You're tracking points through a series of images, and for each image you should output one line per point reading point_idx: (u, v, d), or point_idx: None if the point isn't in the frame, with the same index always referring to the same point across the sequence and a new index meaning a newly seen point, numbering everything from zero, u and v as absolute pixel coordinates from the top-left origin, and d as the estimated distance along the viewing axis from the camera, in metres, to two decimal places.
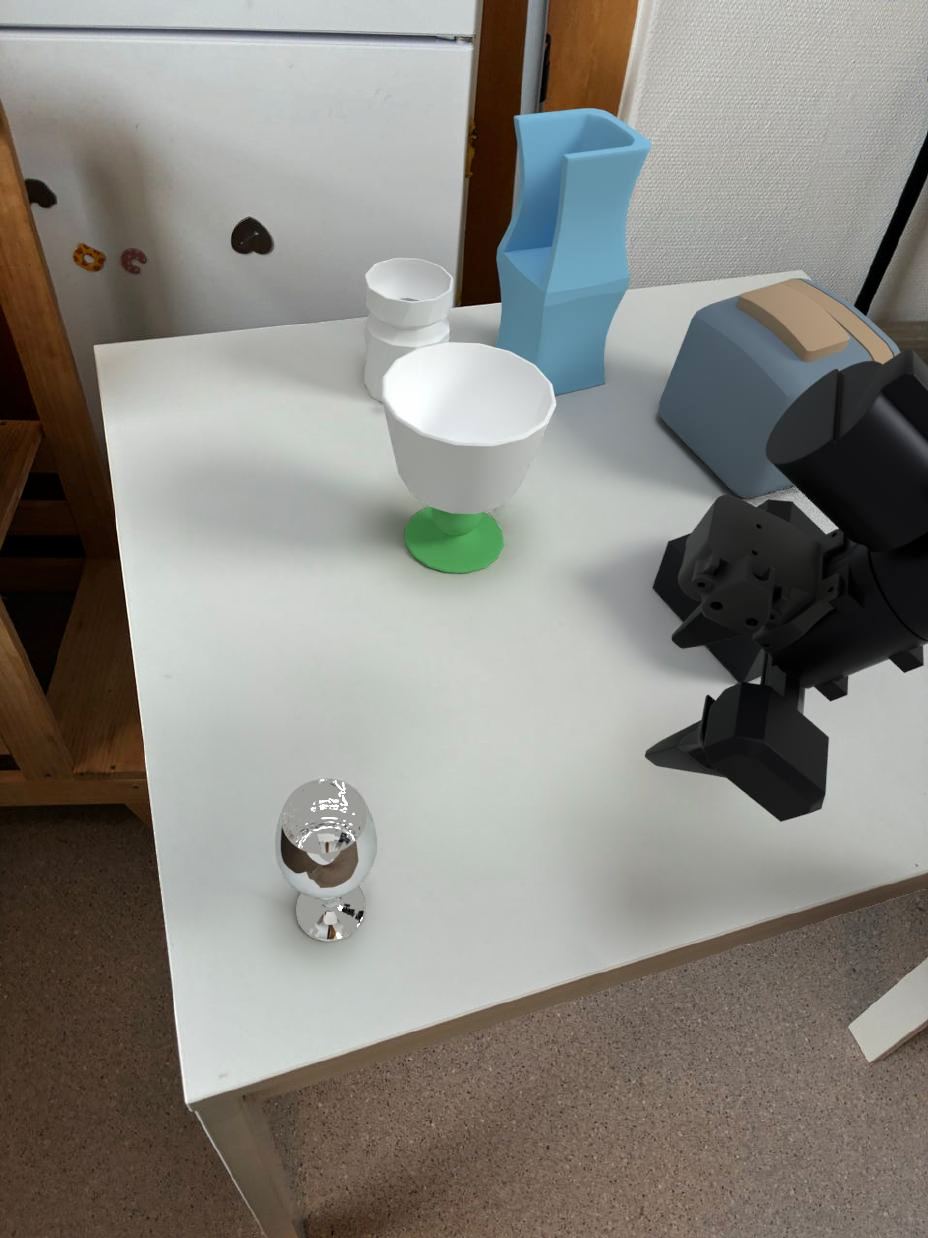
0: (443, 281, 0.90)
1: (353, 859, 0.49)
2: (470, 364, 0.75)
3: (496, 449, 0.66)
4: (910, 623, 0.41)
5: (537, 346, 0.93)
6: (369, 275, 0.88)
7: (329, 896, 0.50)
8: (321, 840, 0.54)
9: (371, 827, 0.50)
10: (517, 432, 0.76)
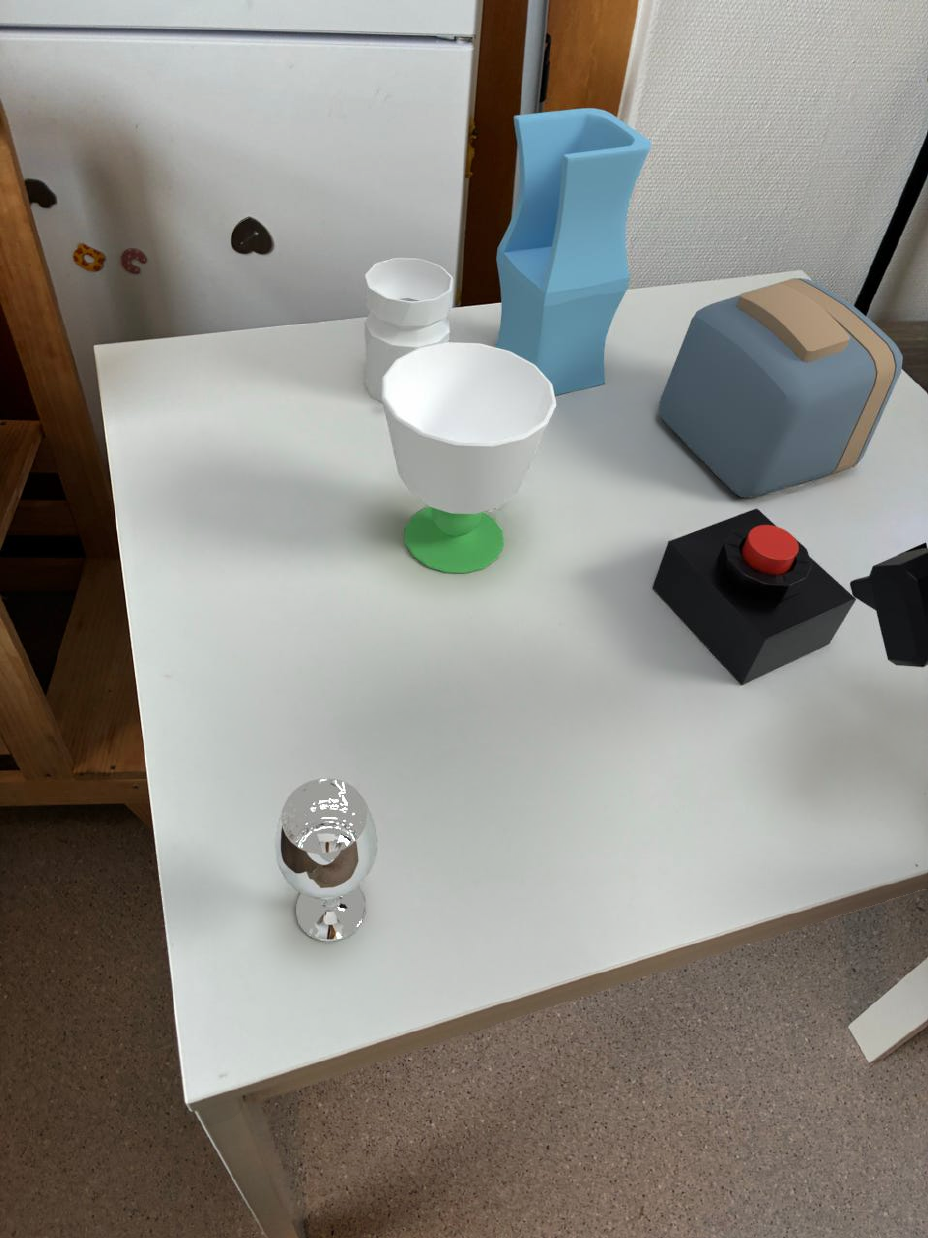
0: (443, 281, 0.90)
1: (353, 859, 0.49)
2: (470, 364, 0.75)
3: (496, 449, 0.66)
4: None
5: (537, 346, 0.93)
6: (369, 275, 0.88)
7: (329, 896, 0.50)
8: (321, 840, 0.54)
9: (371, 827, 0.50)
10: (517, 432, 0.76)
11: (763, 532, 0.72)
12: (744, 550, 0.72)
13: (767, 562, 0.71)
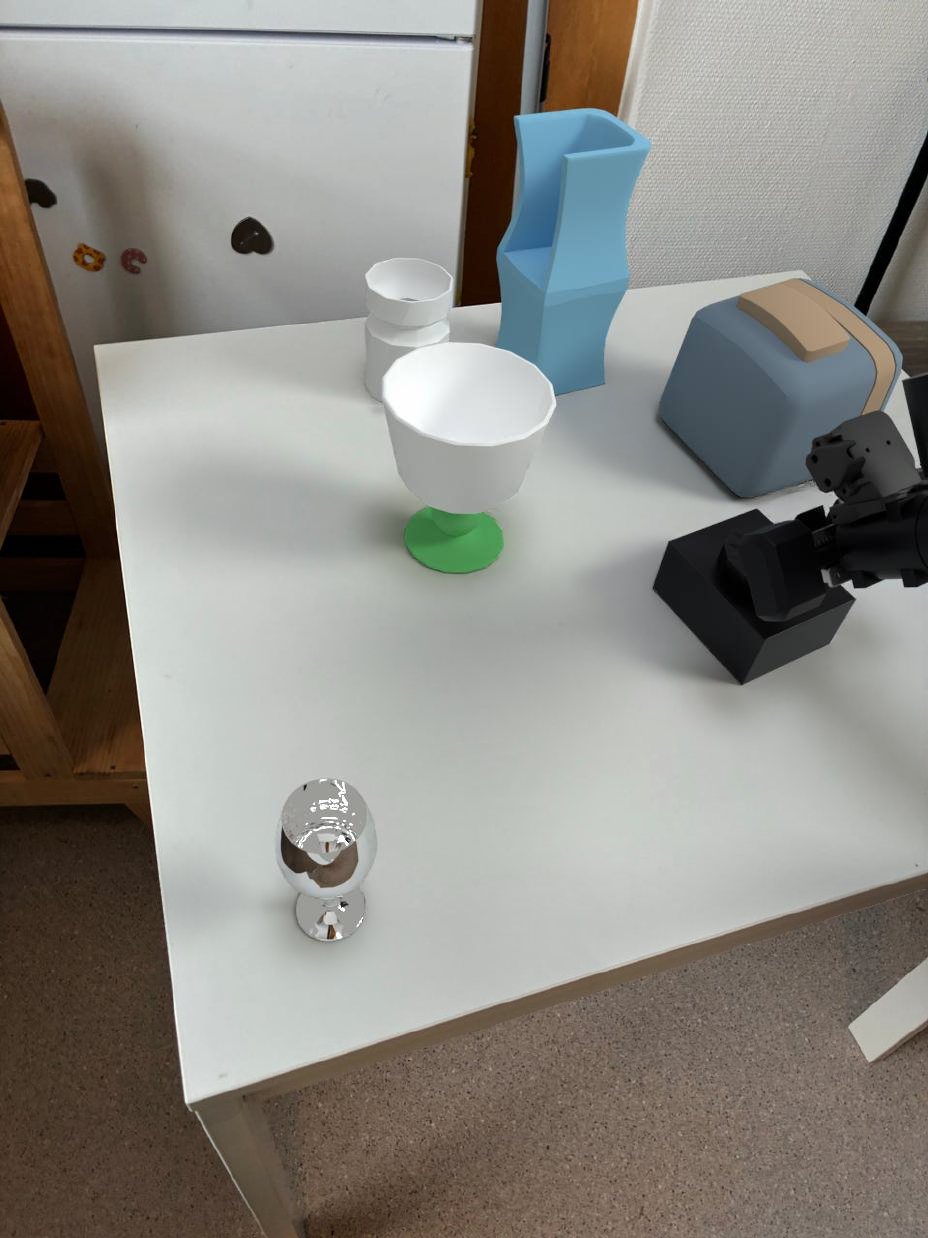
0: (443, 281, 0.90)
1: (353, 859, 0.49)
2: (470, 364, 0.75)
3: (496, 449, 0.66)
4: (920, 543, 0.56)
5: (537, 346, 0.93)
6: (369, 275, 0.88)
7: (329, 896, 0.50)
8: (321, 840, 0.54)
9: (371, 827, 0.50)
10: (517, 432, 0.76)
11: None
12: None
13: None
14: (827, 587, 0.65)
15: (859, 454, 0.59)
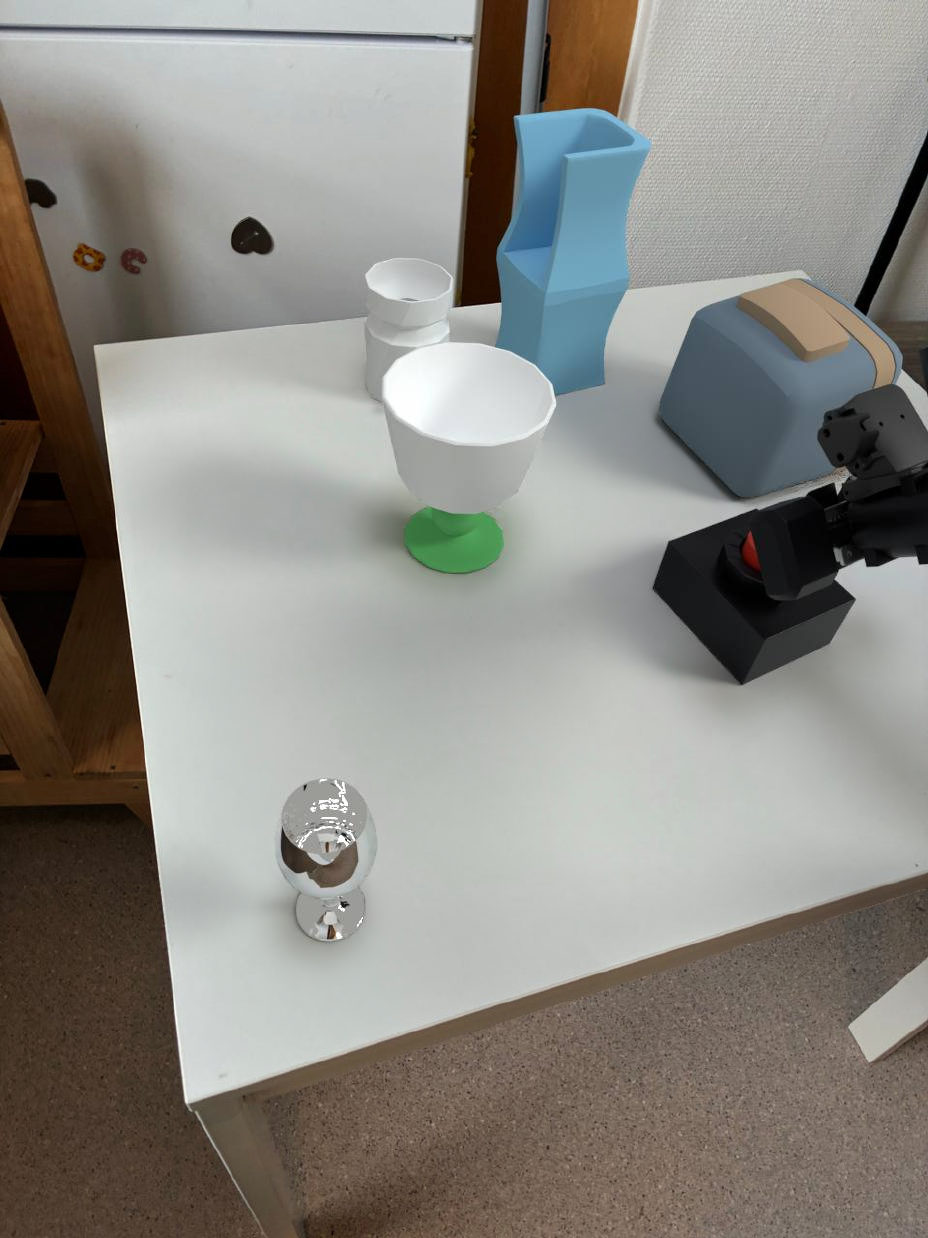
0: (443, 281, 0.90)
1: (353, 859, 0.49)
2: (470, 364, 0.75)
3: (496, 449, 0.66)
4: None
5: (537, 346, 0.93)
6: (369, 275, 0.88)
7: (329, 896, 0.50)
8: (321, 840, 0.54)
9: (371, 827, 0.50)
10: (517, 432, 0.76)
11: None
12: (744, 550, 0.72)
13: None
14: (839, 567, 0.63)
15: (872, 428, 0.58)
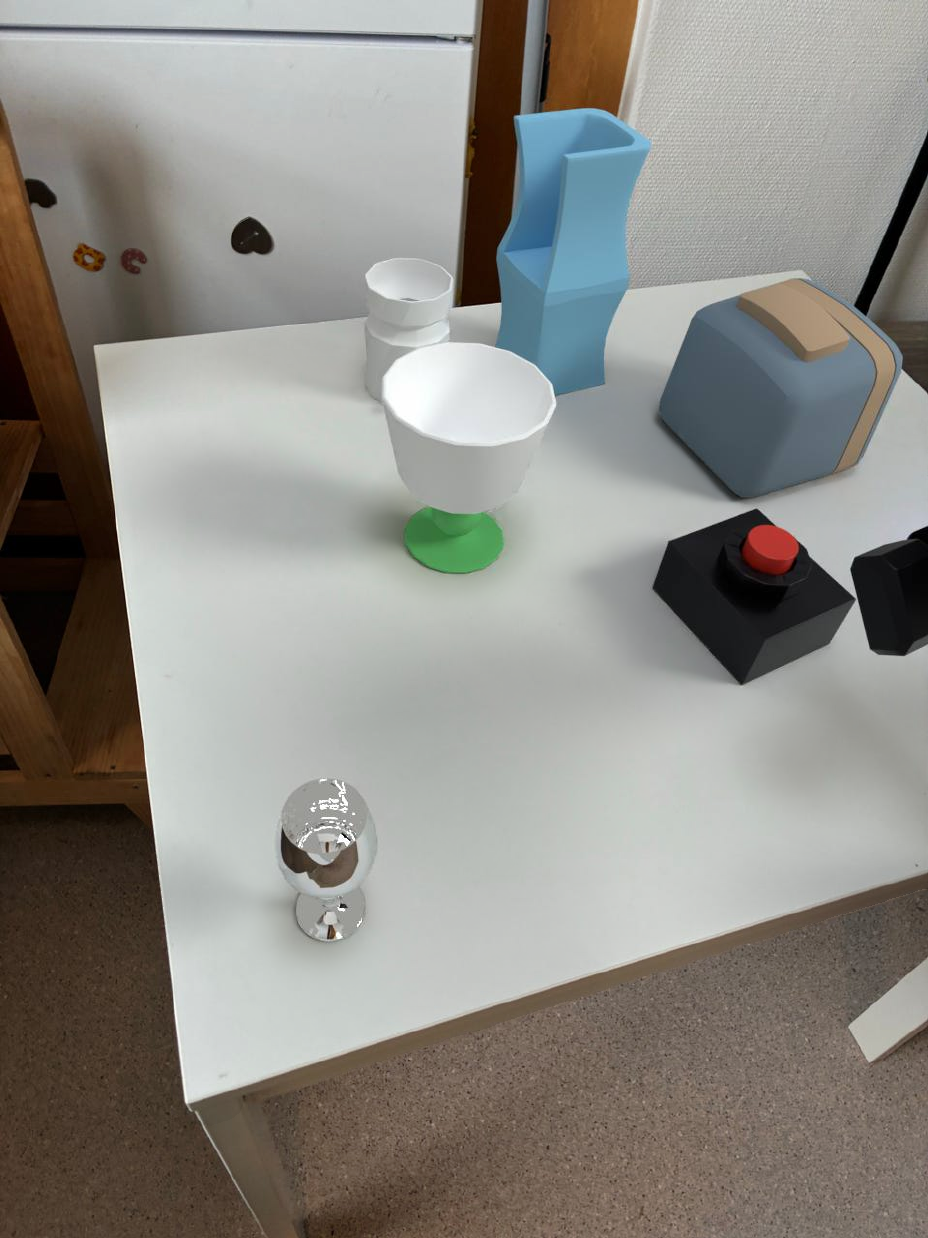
0: (443, 281, 0.90)
1: (353, 859, 0.49)
2: (470, 364, 0.75)
3: (496, 449, 0.66)
4: None
5: (537, 346, 0.93)
6: (369, 275, 0.88)
7: (329, 896, 0.50)
8: (321, 840, 0.54)
9: (371, 827, 0.50)
10: (517, 432, 0.76)
11: (763, 532, 0.72)
12: (744, 550, 0.72)
13: (767, 562, 0.71)
14: None
15: None
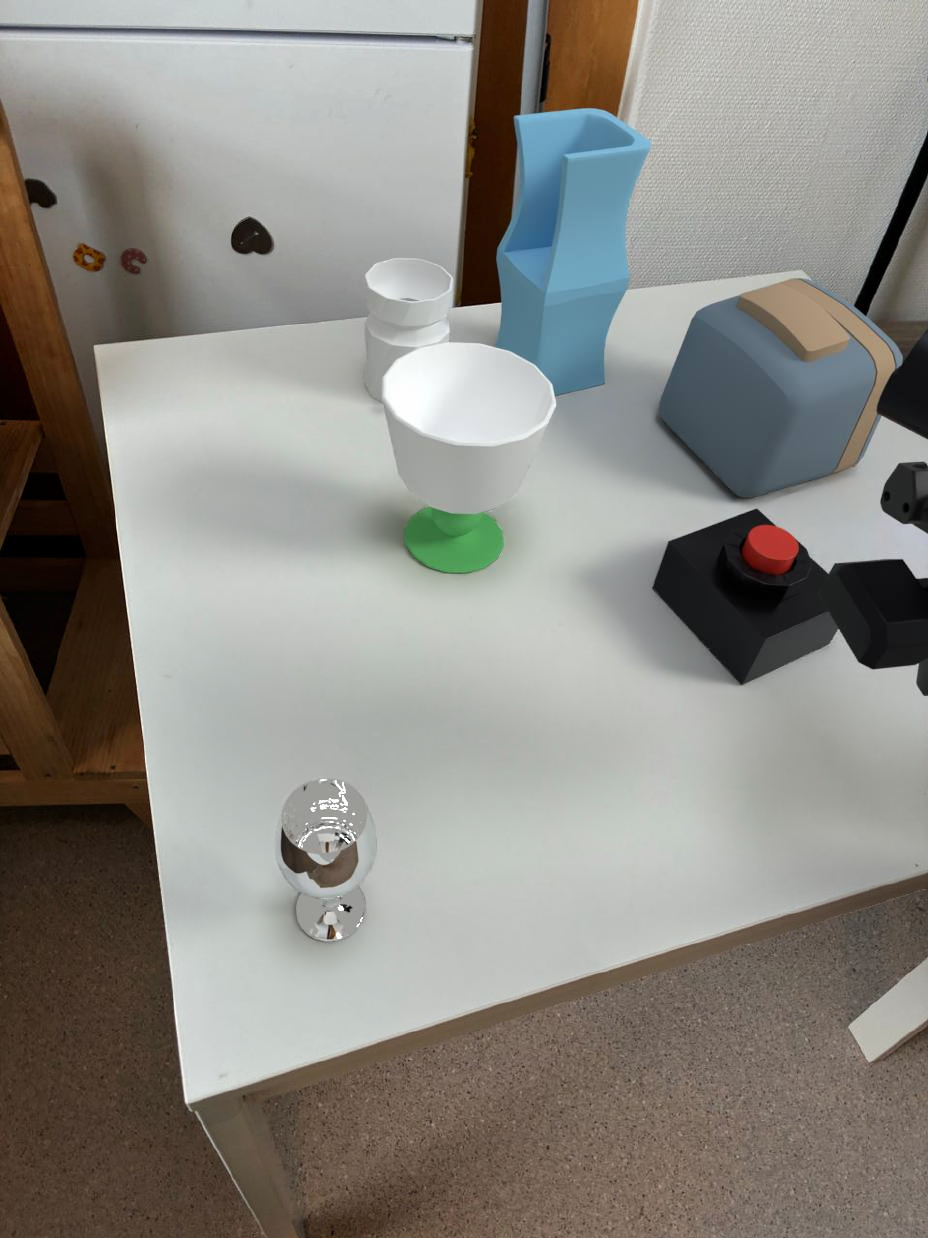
0: (443, 281, 0.90)
1: (353, 859, 0.49)
2: (470, 364, 0.75)
3: (496, 449, 0.66)
4: None
5: (537, 346, 0.93)
6: (369, 275, 0.88)
7: (329, 896, 0.50)
8: (321, 840, 0.54)
9: (371, 827, 0.50)
10: (517, 432, 0.76)
11: (763, 532, 0.72)
12: (744, 550, 0.72)
13: (767, 562, 0.71)
14: None
15: None
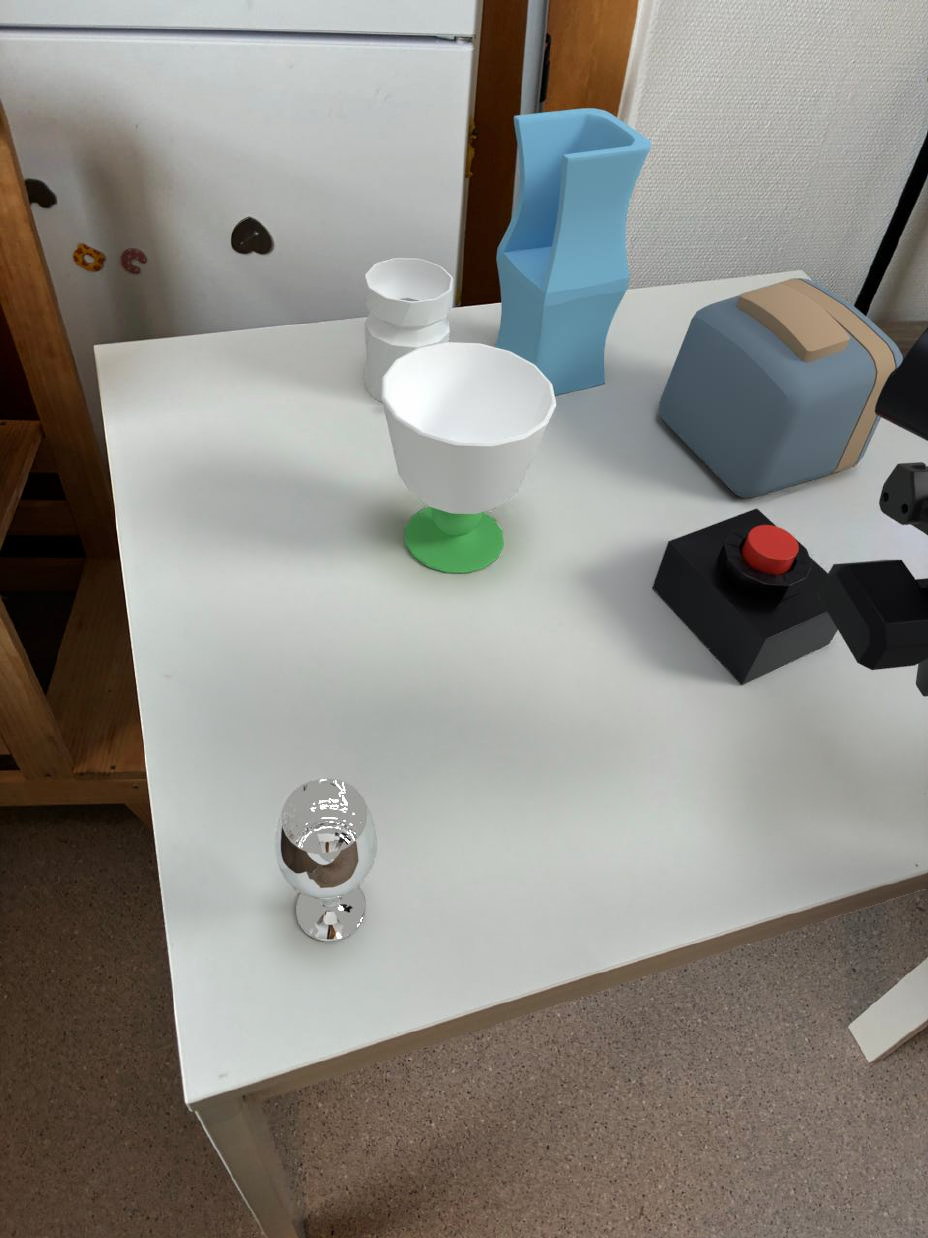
0: (443, 281, 0.90)
1: (353, 859, 0.49)
2: (470, 364, 0.75)
3: (496, 449, 0.66)
4: None
5: (537, 346, 0.93)
6: (369, 275, 0.88)
7: (329, 896, 0.50)
8: (321, 840, 0.54)
9: (371, 827, 0.50)
10: (517, 432, 0.76)
11: (763, 532, 0.72)
12: (744, 550, 0.72)
13: (767, 562, 0.71)
14: None
15: None
